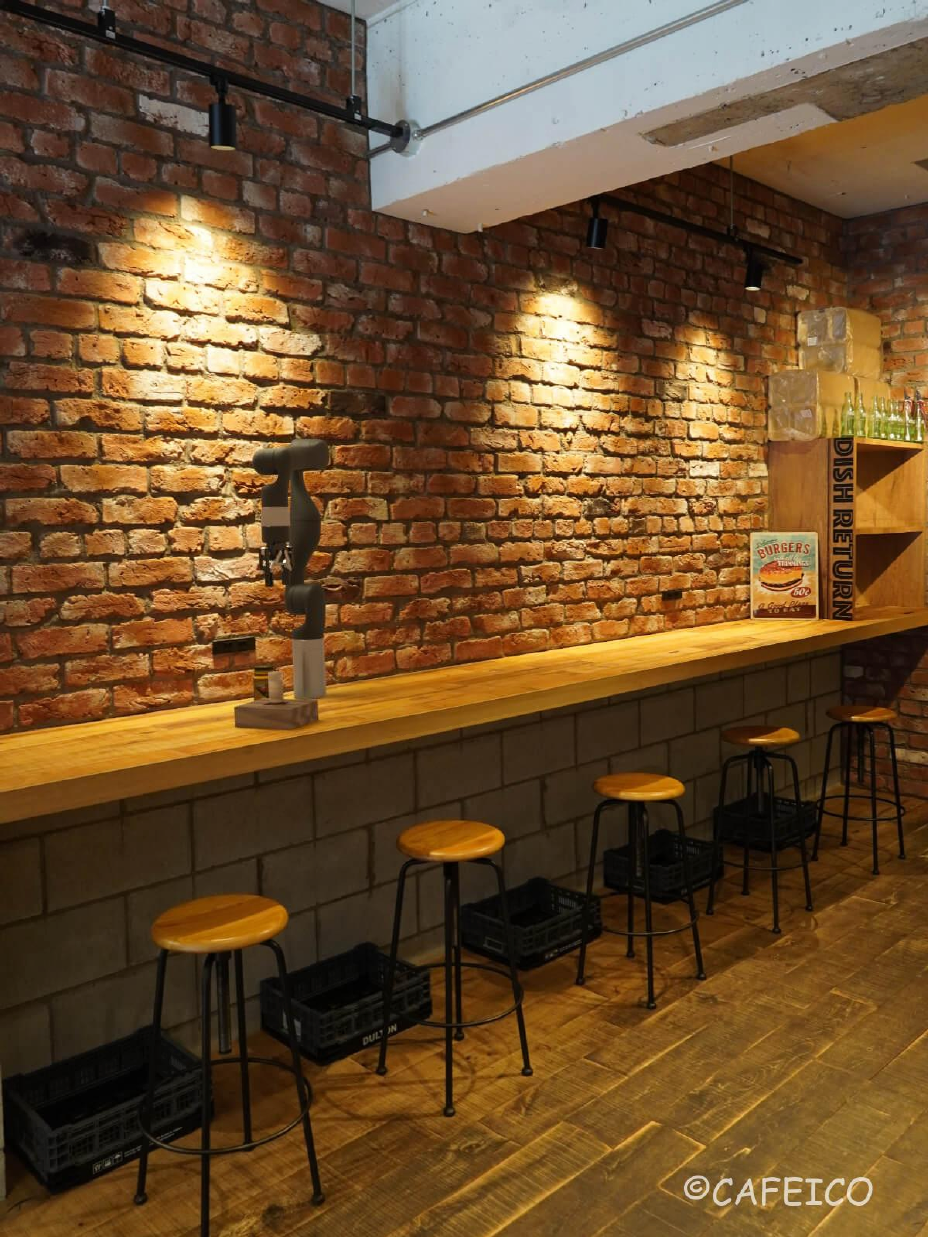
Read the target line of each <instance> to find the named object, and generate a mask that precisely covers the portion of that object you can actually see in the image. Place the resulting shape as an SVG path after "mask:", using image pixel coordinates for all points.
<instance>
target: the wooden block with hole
mask: <svg viewBox="0 0 928 1237" xmlns="http://www.w3.org/2000/svg"><path fill="white" fill-rule="evenodd" d="M283 699H284V705H281V706H276V705H269V698H262V699H259V700H256V701H254V700H253V701H250V702H247V703H243V704H239V705H236V706H234V707H233V709H234V713H233V714H234V727H235V728H254V729H270V730H271V729H273V730H294V729H297V728H300V727H302V726H305V725H308V724H310V723H312V722H315V721H318V720H319V700H318V699H317V700H316V699H299V698H295V699H294V698H283Z"/></svg>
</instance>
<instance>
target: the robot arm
mask: <svg viewBox="0 0 928 1237" xmlns="http://www.w3.org/2000/svg"><path fill="white" fill-rule="evenodd" d="M290 442H291V443H290V445H286V446H285V445H284V446H280V447H274V448H273V447H271V448H259V449H258V450H256V451H255V452H254V454H253V456H252V464H251V465H252V468H253V469H254V471H255V473H257V474H259V475H260V476H277V478H276V480H275V481H274V482H272V483H268V484H265V485H263V486H262V487H261V488H260V499H261V501H260V502H261V504H260V506H261V510H260V511H261V513H260V527H261V528H260V529H261V530H260V531H261V532H260V533H261V542H262V544H266V545H265V546H264V547H259V548H258V570H259V571H262V572H263V573H264V586H265V587H266V588H274V586H275V582H274V581H275V578H274V577H275V576H274V571H275V568H276V566H277V565H278V566H279V568H280V570H281V571H280V572H281V585H282V586H285V588H284V605H285V609H286V611H287V612H288V613H289V614H290V615H292V616H294V615H295V616H305V620H304V622H303V624H301V625H299V626H297V627H294V628H293V629H292V630H291V643H292V644H291V645H292V670H293V672H292V675H293V698H295V699H299V700H314V699H319V698H320V699H321V698H325V697H326V696H327V674H326V673H327V672H326V671H327V670H326V669H327V668H326V665H327V664H326V662H325V659H326V658H325V634H324V633H325V629H326V614H327V613H326V610H327V609H326V608H327V600H326V593H325V590H324V588H323V586H322V585H321V584H319V583H305V577H306V576H305V575H306V569H307V566H308V564H309V562H310V561H311V558H312V556H313V554H314V552H316V550H317V547H318V546H319V544H320V541H321V535H322V534H321V532H322V516H321V512H320V510H319V508H318V507H317V505H316V504H315V502H314V500H313V498H312V496H311V495H310V493H309V491H308V488H307V487H306V482H305V478H304V472H314V471H315V472H319V471H322V470H325V469H326V468H327V467H328V465H329V463H330V449H329V448H330V447H329V445H328V444H327V442H326V441H325V440H323V439H319V438H295V439H293V440H291V441H290ZM289 487H290V488H289ZM289 489H290V490H289ZM289 492H290V494H289ZM289 495H290V500H289ZM287 543H288V545H287Z"/></svg>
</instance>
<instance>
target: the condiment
mask: <svg viewBox="0 0 928 1237" xmlns="http://www.w3.org/2000/svg"><path fill="white" fill-rule="evenodd" d="M253 671H254V672H253V677H252V678H253V679H252V680H253V683H252V685H253V701H256V700H259V699H262V698H269V684H268V672H274V671H275V670H274V666H273V665H271V664H261V665H260V664H259V665H256V666H254V667H253Z"/></svg>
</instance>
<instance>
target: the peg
mask: <svg viewBox="0 0 928 1237" xmlns="http://www.w3.org/2000/svg"><path fill="white" fill-rule="evenodd" d="M273 671H274V672H268V684H269V705H276V706H281V705H284V699H285V698H284V681H283V680H284V679H283V678H284V675H283V671H275V670H273Z"/></svg>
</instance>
